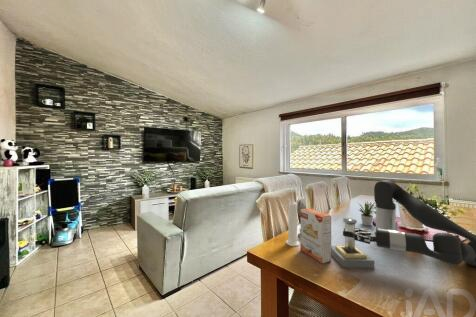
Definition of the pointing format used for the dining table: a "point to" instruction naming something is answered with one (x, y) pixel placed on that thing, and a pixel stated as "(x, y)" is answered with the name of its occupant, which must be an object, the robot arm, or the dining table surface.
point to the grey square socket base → (351, 257)
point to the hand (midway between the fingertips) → (343, 231)
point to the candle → (292, 224)
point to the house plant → (367, 214)
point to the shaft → (349, 240)
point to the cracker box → (316, 234)
